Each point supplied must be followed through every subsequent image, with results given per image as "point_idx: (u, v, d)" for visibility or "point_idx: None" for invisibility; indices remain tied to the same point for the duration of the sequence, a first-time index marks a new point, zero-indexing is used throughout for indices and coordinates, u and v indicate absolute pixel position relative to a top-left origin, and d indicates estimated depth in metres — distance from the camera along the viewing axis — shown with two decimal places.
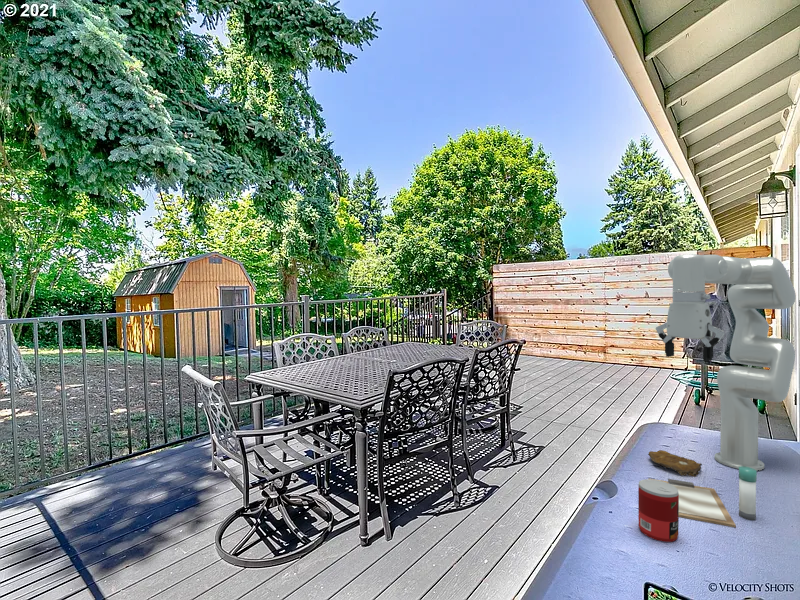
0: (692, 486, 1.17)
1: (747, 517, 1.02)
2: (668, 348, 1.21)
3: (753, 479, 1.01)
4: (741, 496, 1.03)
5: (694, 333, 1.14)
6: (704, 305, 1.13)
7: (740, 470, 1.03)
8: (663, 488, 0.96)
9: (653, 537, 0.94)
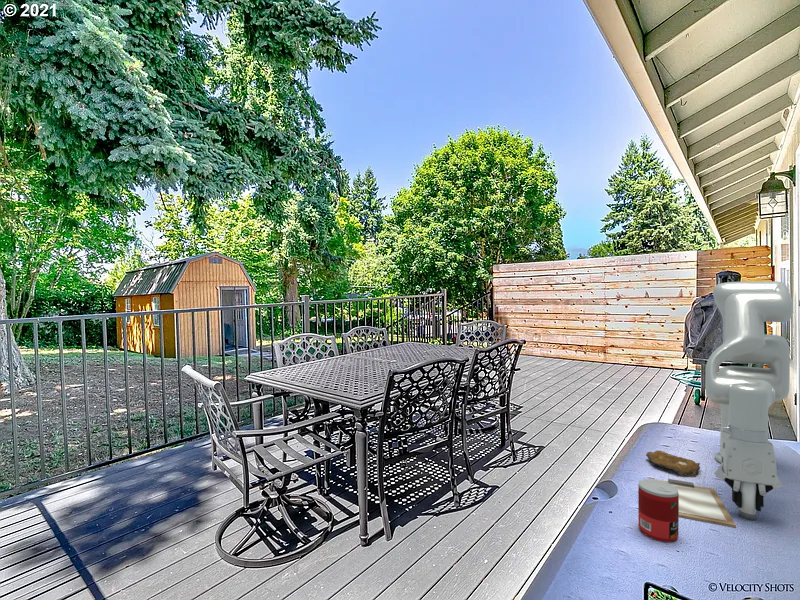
0: (692, 486, 1.17)
1: (747, 517, 1.02)
2: None
3: None
4: None
5: None
6: (725, 437, 1.05)
7: None
8: (663, 488, 0.96)
9: (653, 537, 0.94)
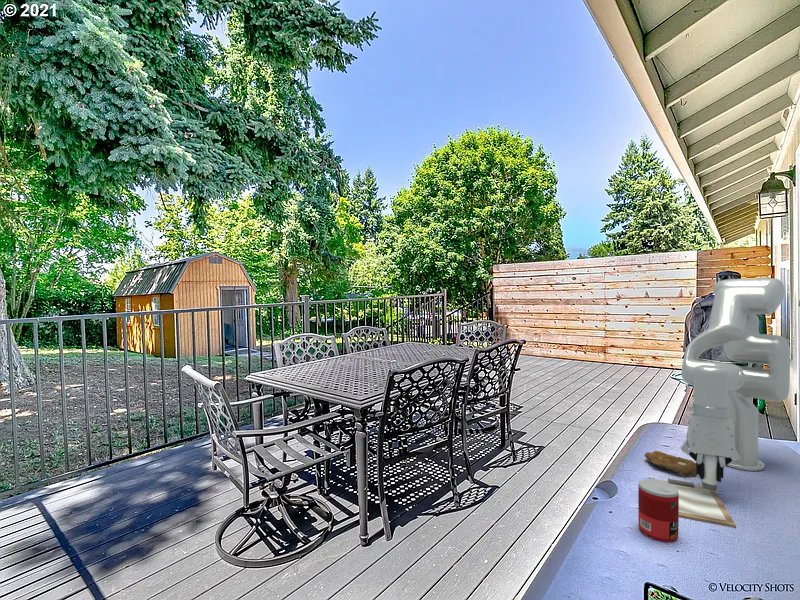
0: (692, 486, 1.17)
1: (709, 487, 1.11)
2: None
3: None
4: (704, 468, 1.12)
5: None
6: (690, 415, 1.15)
7: None
8: (663, 488, 0.96)
9: (653, 537, 0.94)
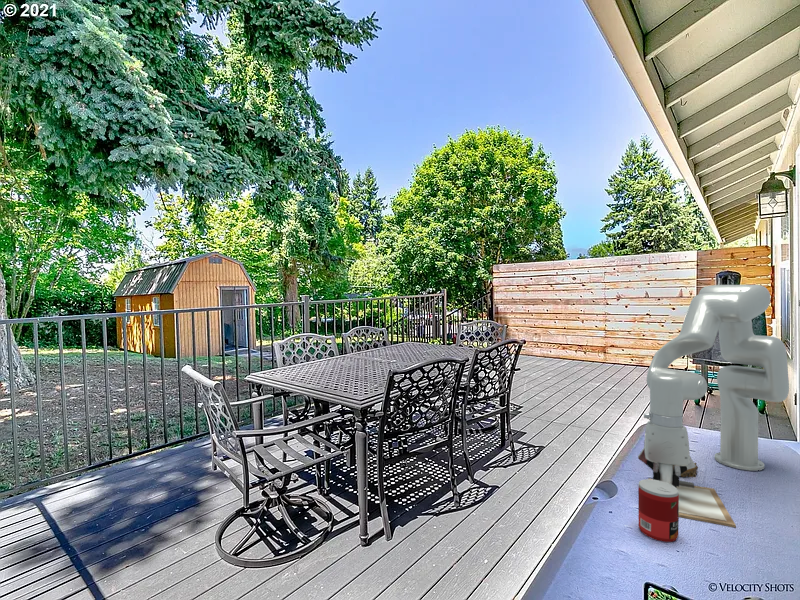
0: (692, 486, 1.17)
1: None
2: None
3: None
4: (660, 476, 1.12)
5: None
6: (647, 423, 1.15)
7: None
8: (663, 488, 0.96)
9: (653, 537, 0.94)
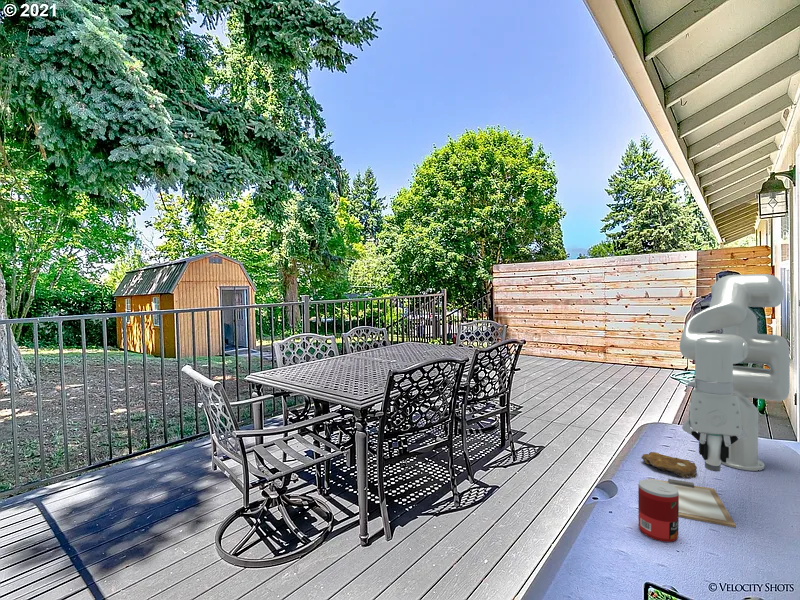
0: (692, 486, 1.17)
1: (710, 468, 1.04)
2: None
3: None
4: None
5: None
6: None
7: None
8: (663, 488, 0.96)
9: (653, 537, 0.94)
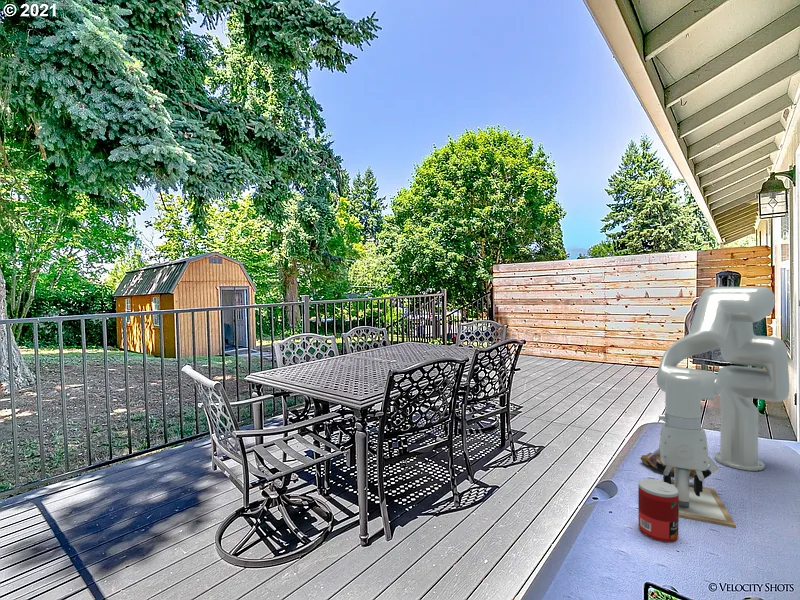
0: (692, 486, 1.17)
1: (679, 504, 1.06)
2: None
3: None
4: (675, 483, 1.08)
5: None
6: (662, 425, 1.09)
7: None
8: (663, 488, 0.96)
9: (653, 537, 0.94)
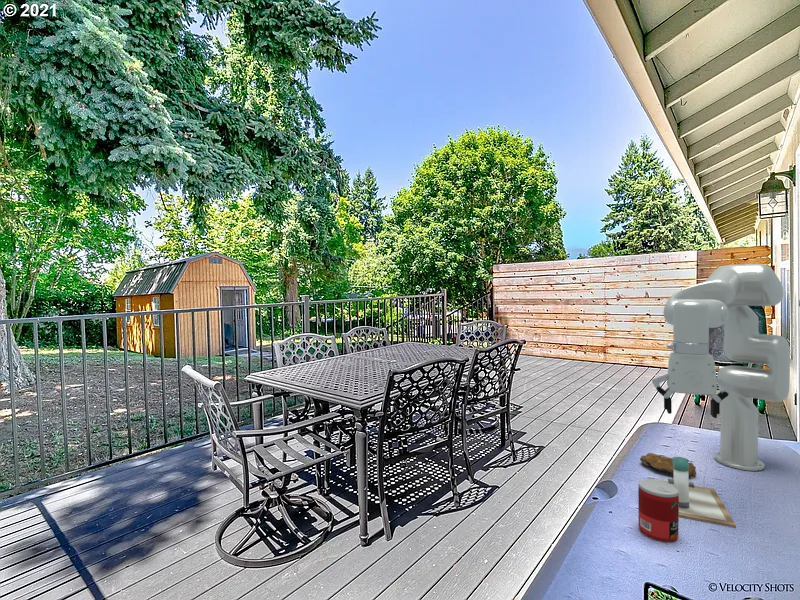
0: (692, 486, 1.17)
1: (679, 505, 1.06)
2: None
3: (684, 468, 1.06)
4: (674, 485, 1.07)
5: None
6: (670, 354, 1.09)
7: (673, 460, 1.08)
8: (663, 488, 0.96)
9: (653, 537, 0.94)
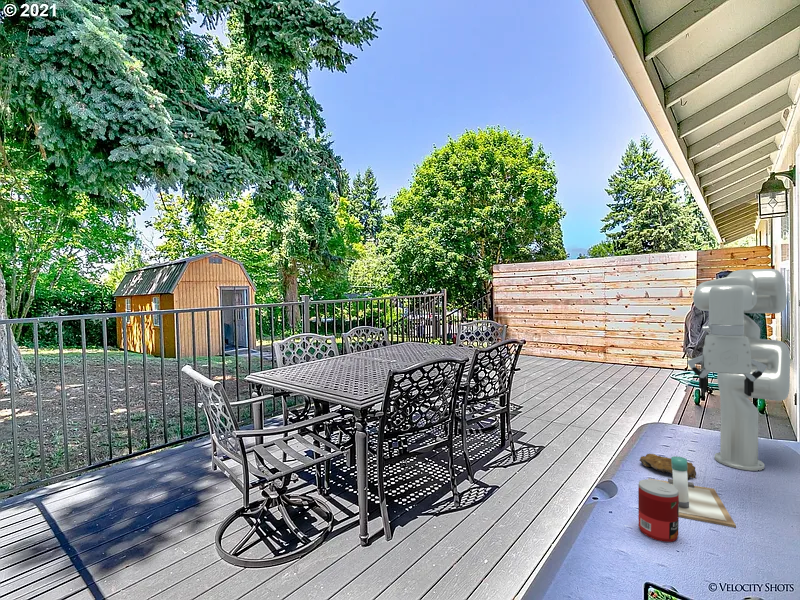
0: (692, 486, 1.17)
1: (679, 505, 1.06)
2: None
3: (682, 468, 1.06)
4: (674, 485, 1.07)
5: None
6: None
7: (671, 459, 1.08)
8: (663, 488, 0.96)
9: (653, 537, 0.94)
